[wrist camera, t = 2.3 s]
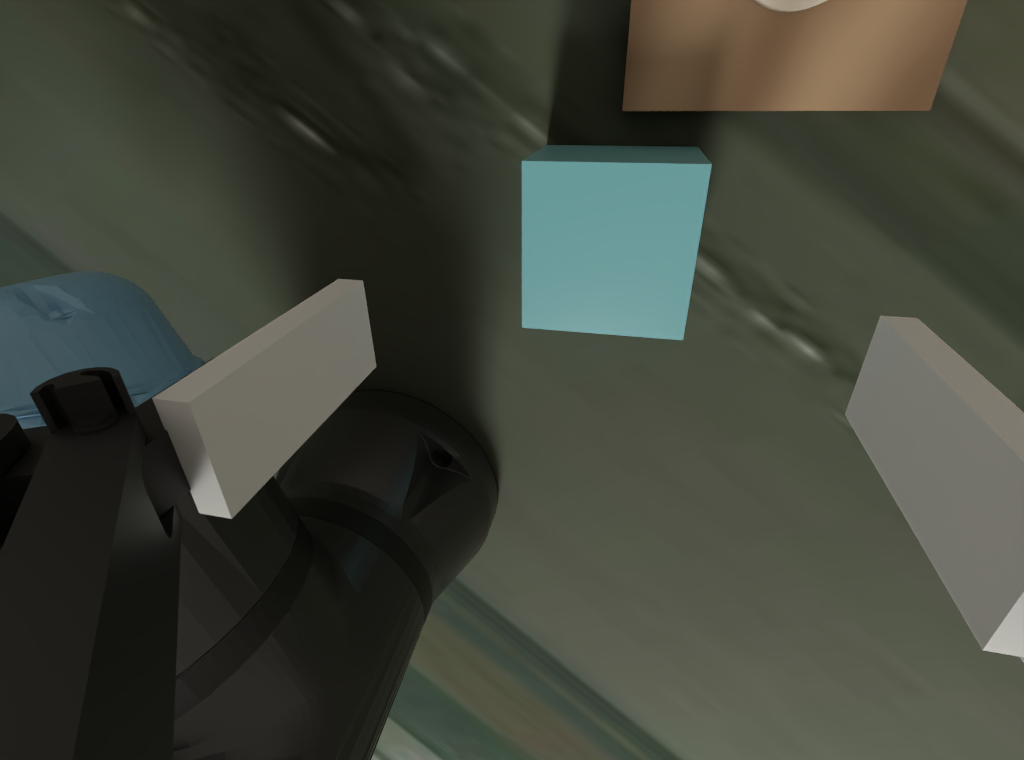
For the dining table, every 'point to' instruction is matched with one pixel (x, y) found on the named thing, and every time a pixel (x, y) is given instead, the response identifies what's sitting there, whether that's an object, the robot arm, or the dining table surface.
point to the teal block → (611, 238)
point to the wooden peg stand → (787, 54)
